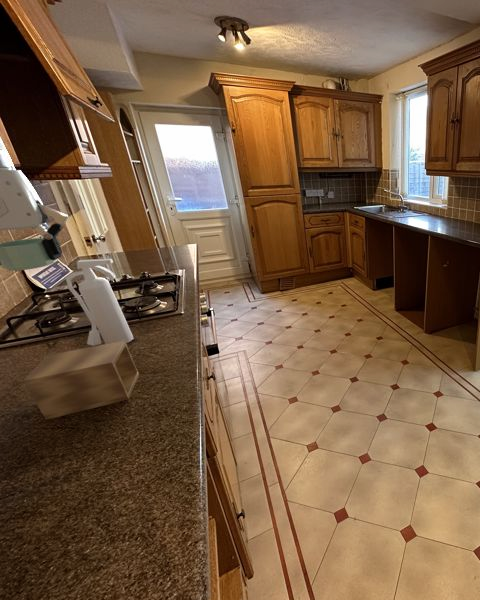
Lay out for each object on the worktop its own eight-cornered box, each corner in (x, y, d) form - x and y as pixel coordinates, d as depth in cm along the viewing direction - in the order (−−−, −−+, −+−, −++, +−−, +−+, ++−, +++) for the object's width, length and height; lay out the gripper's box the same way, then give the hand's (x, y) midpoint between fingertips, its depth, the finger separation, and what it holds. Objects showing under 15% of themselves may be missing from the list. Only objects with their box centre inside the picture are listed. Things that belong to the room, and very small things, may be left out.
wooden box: (46, 419, 67) (22, 381, 63) (66, 391, 75) (46, 355, 71) (128, 399, 72) (112, 362, 68) (139, 374, 80) (125, 340, 76)
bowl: (-5, 273, 59) (-19, 249, 57) (17, 263, 64) (5, 240, 63) (47, 267, 61) (36, 244, 59) (63, 258, 67) (53, 236, 65)
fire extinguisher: (93, 342, 95) (55, 261, 85) (143, 332, 100) (113, 254, 90) (85, 353, 89) (44, 268, 79) (138, 342, 95) (106, 260, 84)
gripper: (-118, 163, 49) (-49, 274, 56) (36, 161, 56) (79, 259, 63) (-79, 163, 55) (-21, 262, 62) (55, 161, 62) (93, 250, 69)
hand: (29, 260), depth 62 cm, fingers closed on bowl, 7 cm apart
